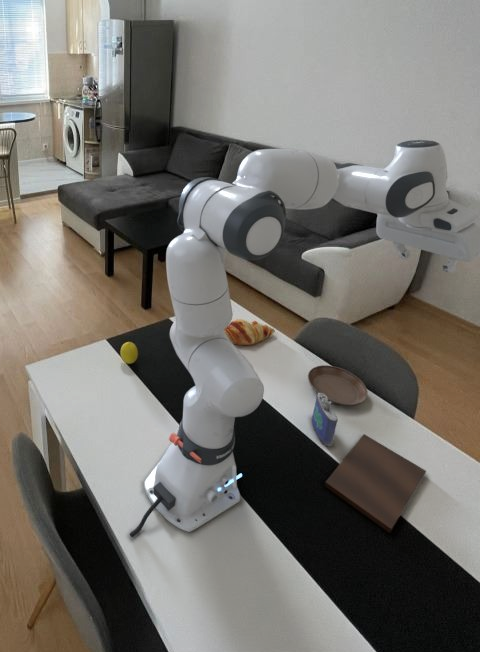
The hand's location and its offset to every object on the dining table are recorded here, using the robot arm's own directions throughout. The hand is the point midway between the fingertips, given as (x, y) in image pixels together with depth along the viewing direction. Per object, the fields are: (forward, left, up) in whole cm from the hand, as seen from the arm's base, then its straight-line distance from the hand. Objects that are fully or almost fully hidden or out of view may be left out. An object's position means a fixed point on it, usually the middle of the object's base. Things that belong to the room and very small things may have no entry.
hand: (426, 264), depth 98 cm
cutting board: (-23, -6, -46) cm, 51 cm away
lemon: (-39, +59, -46) cm, 84 cm away
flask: (-19, +8, -46) cm, 50 cm away
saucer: (-2, +12, -46) cm, 47 cm away
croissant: (-1, +42, -46) cm, 62 cm away
